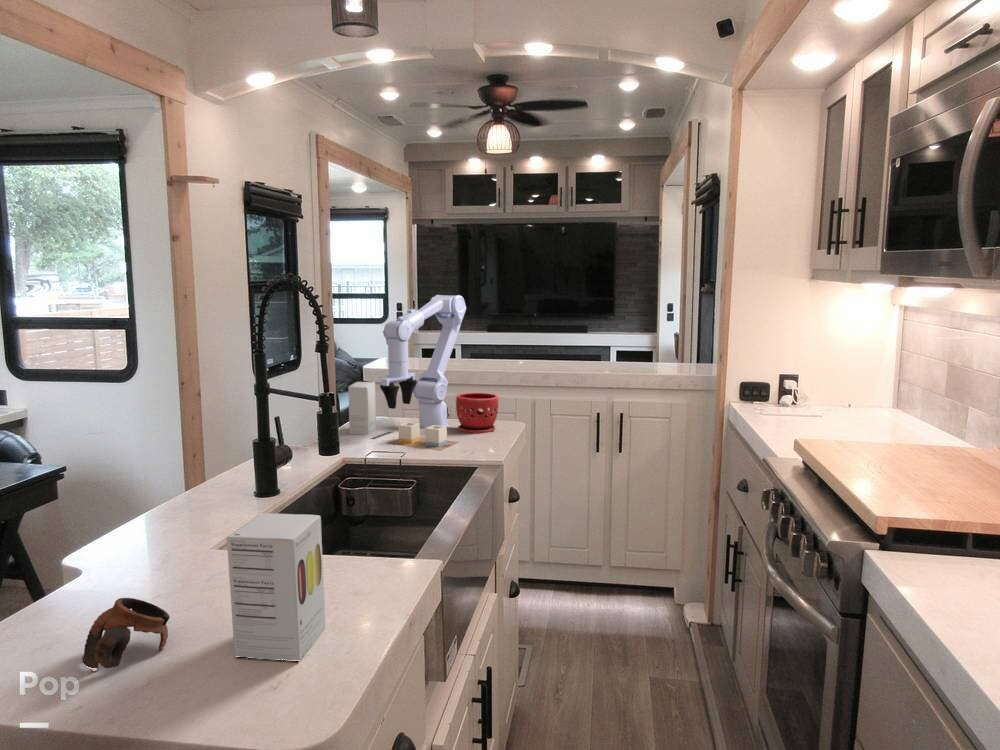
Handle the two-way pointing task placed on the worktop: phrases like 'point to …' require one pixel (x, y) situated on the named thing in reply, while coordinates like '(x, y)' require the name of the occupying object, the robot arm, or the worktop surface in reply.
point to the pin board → (423, 444)
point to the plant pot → (476, 412)
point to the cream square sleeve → (409, 432)
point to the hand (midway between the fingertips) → (399, 405)
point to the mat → (381, 435)
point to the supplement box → (276, 585)
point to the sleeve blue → (436, 435)
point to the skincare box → (362, 408)
